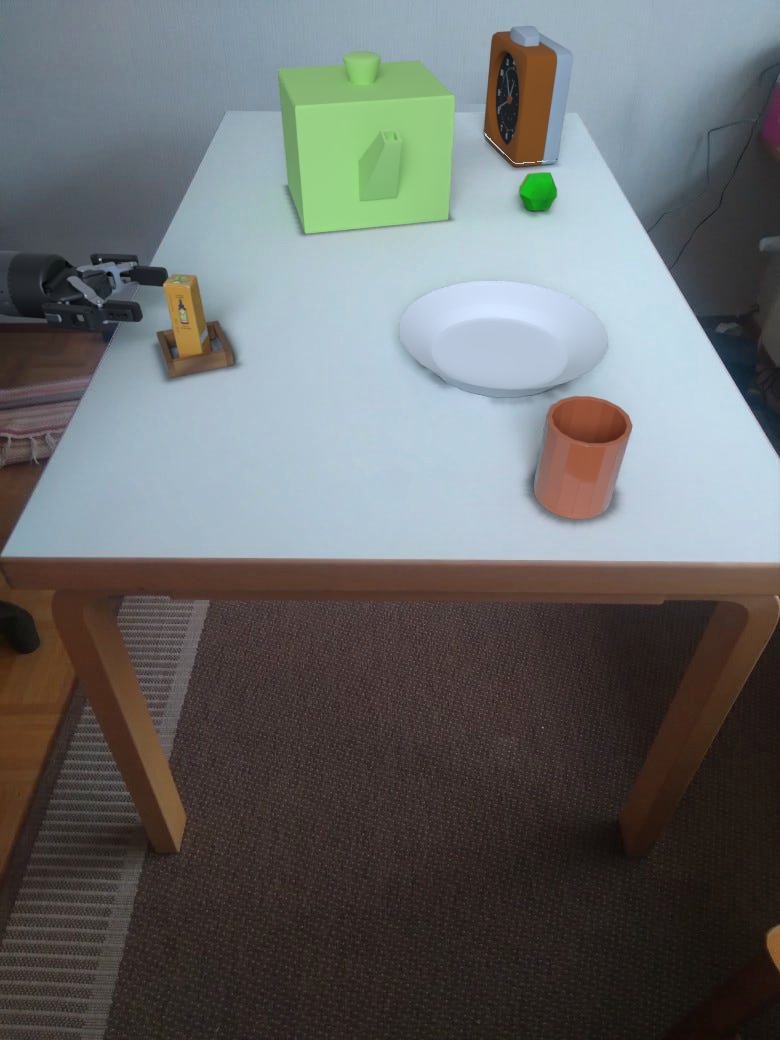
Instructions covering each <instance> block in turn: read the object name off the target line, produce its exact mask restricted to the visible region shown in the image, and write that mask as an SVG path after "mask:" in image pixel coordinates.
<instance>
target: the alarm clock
mask: <svg viewBox="0 0 780 1040" xmlns="http://www.w3.org/2000/svg"><path fill="white" fill-rule="evenodd" d="M490 40H491V41H490V52H489V64H488V75H487V87H486V100H485V108H484V109H485V110H484V111H485V112H484V120H483V121H484V123H483V133H484V132H485V133H486V134H487V136H488V137H489V138H491V140H492V141H493V142H494V143H495V144H496V145H497V146H498V147H499V148H500V149H501V150H502V151H503V152H504V153H505V154H506V155H507V156H508V157H509V158H510V159H511V160H512V161H513V162H515V163H523V162H535V163H524V164H515V163H513V162H512V161H511V160H510V159H509V158H508V157H507V156H506V155H505V154H503V153H502V152H501V151H500V150H499V149H498V148H497V147H496V146H495V145H494V144H493V143H492V142H491V141H490V140H489V139H488V138H487V137H486V136H485V135H484V134H483V136H484V139H485V140H486V141H487V142H488V143H489V144H490V146H492V147H493V148H494V149H495V150H496V151H497V152H498V153H499V154H500V155H501V156H502V157H503V158H504V159H505V160H506V161H507V162H508V163H509V164H510V165H511V166H512V167H514V168H521V167H530V166H541V165H553V164H555V163H557V162H558V160H559V159H558V158H559V154H560V147H561V141H562V134H563V128H564V121H565V115H566V110H567V109H566V108H567V102H568V97H569V89H570V83H571V77H572V70H573V63H574V54H573V53H572V51H571V50H570V49H568V48H566V47H565V46H563V45H562V44H560V43H558V42H556V41H555V40H553V39H552V38H550V37H548V36H547V35H545V34H543V33H542V32H540V31H539V30H538V29H537V27H536V26H534V25H521V26H512V27H511V28H510V30H507V31H496V32H495V33H493V34H492V36H491V39H490ZM556 159H557V160H556ZM542 160H543V161H546V160H555V161H546V162H537V161H542Z"/></svg>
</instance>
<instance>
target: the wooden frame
mask: <svg viewBox="0 0 780 1040" xmlns="http://www.w3.org/2000/svg"><path fill="white" fill-rule="evenodd" d="M206 325H207V330H208V335H209V340H212V339H216V342H217V344H218V346H219V349H217V350H211V352H207V353H202V354H197V355H192V356H187V357H182V358H179V357H178V358H172V355H171V352H170V348H171V347H177V345H176V340H175V335H174V331H173V328H170V329H166V330H165V329H164V330H160V331H156V332H155V334H156V338H157V342H158V344H159V345H158V346H159V349H160V351H161V355H162V358H163V361H164V364H165V368H166V371H167V373H168V377H169V379H173V378H178V377H183V376H188V375H193V374H197V373H203V372H207V371H211V370H212V371H213V370H217V369H222V368H226V367H230V366H234V365H235V362H234V361H235V360H234V355H233V350H232V348H231V345H230V343H229V341H228V339H227V337H226V335H225V332H224V331H223V328H222V326H221V324H220V322H219V320H218V319H217V320H212V321H206Z"/></svg>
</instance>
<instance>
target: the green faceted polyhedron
mask: <svg viewBox="0 0 780 1040" xmlns="http://www.w3.org/2000/svg"><path fill="white" fill-rule="evenodd" d="M518 189H519V190H518V194H519V197H520V199H521V201H522V204H523V206H524V209H525V210H526V211H543V210H549V209H550V207H551V206H552V204H553V203H554V202H555V200H556V198H557V197H558V189H557V186H556V183H555V181H554V178H553V176H552V173H551V172H550V171H549V172H547V171H545V172H543V171H541V172H531V173H529V172H528V173H527V174H526V176H525V177H524V179H523V180H522V182H521V184H520V185H519V186H518Z"/></svg>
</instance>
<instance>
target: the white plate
mask: <svg viewBox="0 0 780 1040" xmlns="http://www.w3.org/2000/svg"><path fill="white" fill-rule="evenodd" d="M398 333H399V339H400V341H401V344H402V345H403V347H404V348H405V350H406V352H408V353H409V355H410V356H411V357H412V358H413V359H415V361H417V362H418V363H419V364H421V365H422V366H424V367H425V368H427V369H428V370H430V371H432V372H434V373H435V374H436V375H437V376H438V377H439V378H440V379H442V380H443V381H444V382H446V383H448V384H449V385H451V386H453V387H455V388H458V389H460V390H462V391H465V392H468V393H472V394H476V395H478V396H479V395H480V396H485V397H493V398H506V399H507V398H522V397H530V396H534V395H537V394H541V393H545V392H547V391H549V390H552V389H553V388H555V387H558V386H560V385H562V384H565V383H568V382H570V381H573V380H575V379H578V378H580V377H582V376H583V375H586V374H587V373H588V372H590V371H592V369H594V368H595V367H597V366H598V365H599V363H601V361H602V359H604V357H605V355H606V352H607V350H608V346H609V336H608V333H607V329H606V327H605V326H604V323H603V322H602V320H601V319H600V318H599V317H598V316H597V315H596V313H595V312H593V310H591V309H590V308H589V307H587V306H586V305H585V304H583V303H581V302H580V301H578V300H576V299H575V298H573V297H571V296H568V295H566V294H564V293H562V292H559V291H557V290H553V289H550V288H547V287H544V286H539V285H537V284H531V283H525V282H518V281H509V280H476V281H475V280H474V281H467V282H460V283H455V284H451V285H447V286H444V287H440V288H438V289H435V290H433V291H430V292H428V293H426V294H424V295H423V296H420V297H419V298H418V299H416V300H414V301H413V302H412V303H411V304H410V305H409V306H408V307H407V308H406V309H405V311H404V312H403V314H402V316H401V318H400V320H399V325H398Z"/></svg>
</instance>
